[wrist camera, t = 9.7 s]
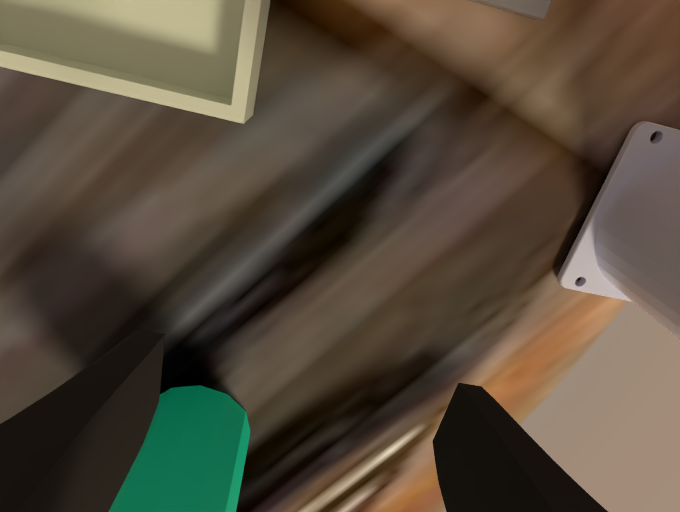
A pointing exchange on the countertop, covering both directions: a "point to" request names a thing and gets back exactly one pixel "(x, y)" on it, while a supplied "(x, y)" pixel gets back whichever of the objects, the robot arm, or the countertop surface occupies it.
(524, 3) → the fuse holder
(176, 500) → the candle
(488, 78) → the countertop surface
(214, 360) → the countertop surface
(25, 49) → the tray
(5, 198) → the countertop surface
